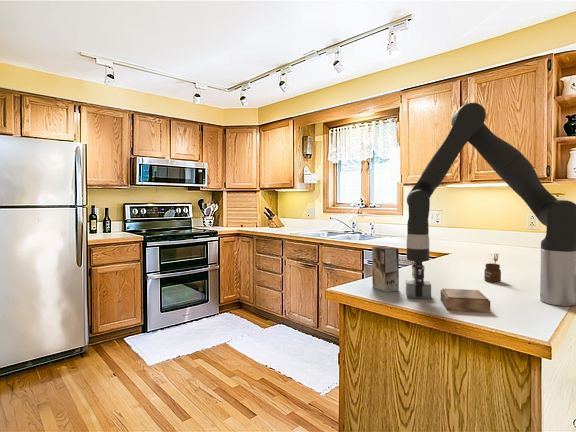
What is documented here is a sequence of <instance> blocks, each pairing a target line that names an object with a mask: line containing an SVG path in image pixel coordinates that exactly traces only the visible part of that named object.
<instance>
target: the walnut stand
mask: <svg viewBox="0 0 576 432" xmlns="http://www.w3.org/2000/svg"><path fill="white" fill-rule="evenodd" d="M440 301H441V303H442V304H443V306H444V307H445V310H446V311H450V312H451V311H454V312H468V313H469V312H472V313H474V312H475V313H487V314H490V313H491V300H490V299H489V298H488V297H486V295H484V294H483V293H482V292H481V291H480V290H479V289H462V288H442V289H440Z"/></svg>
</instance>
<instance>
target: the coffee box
mask: <svg viewBox="0 0 576 432" xmlns="http://www.w3.org/2000/svg"><path fill="white" fill-rule="evenodd" d="M399 250H400V249H399V248H397V247H392V246H387V245H383V246H381V245H379V246H372V247H371V254H372V255H371V258H372V260H371V262H372V263H371V266H372V267H371V268H372V288H374V289H377V290H380V291H383V292H385V293H388V292H396V291H397V292H399V290H400V283H399V282H400V275H399V272H400V271H399V270H400V267H399V266H400V265H399V261H400V257H399V256H400V255H399Z"/></svg>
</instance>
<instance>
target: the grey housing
mask: <svg viewBox="0 0 576 432" xmlns="http://www.w3.org/2000/svg"><path fill="white" fill-rule="evenodd" d="M417 282H421V280H420V279H418V280H417ZM405 295H406V296H405V297H406V298H407V299H425V300H426V299H427V300H432V284H431V281H430V280H424V285H423V286H422V297H416V295H415V280H414V281H413V280H405Z"/></svg>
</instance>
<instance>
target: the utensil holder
mask: <svg viewBox="0 0 576 432" xmlns="http://www.w3.org/2000/svg"><path fill="white" fill-rule="evenodd" d="M490 255H491V256H493V258H492V259H491V261H492V263H491V261H490V259H488V263H485V265H484V266H485V268H484V278H483V279H484V281H485V282H487V283H494V284H499V283H500V282H501V281H502V271H501V269H500V268H501V265H500V264H498V263H497V261H498V260H499V254H498V253H494V254H492V253H489V254H488V256H487V257H490Z"/></svg>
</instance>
